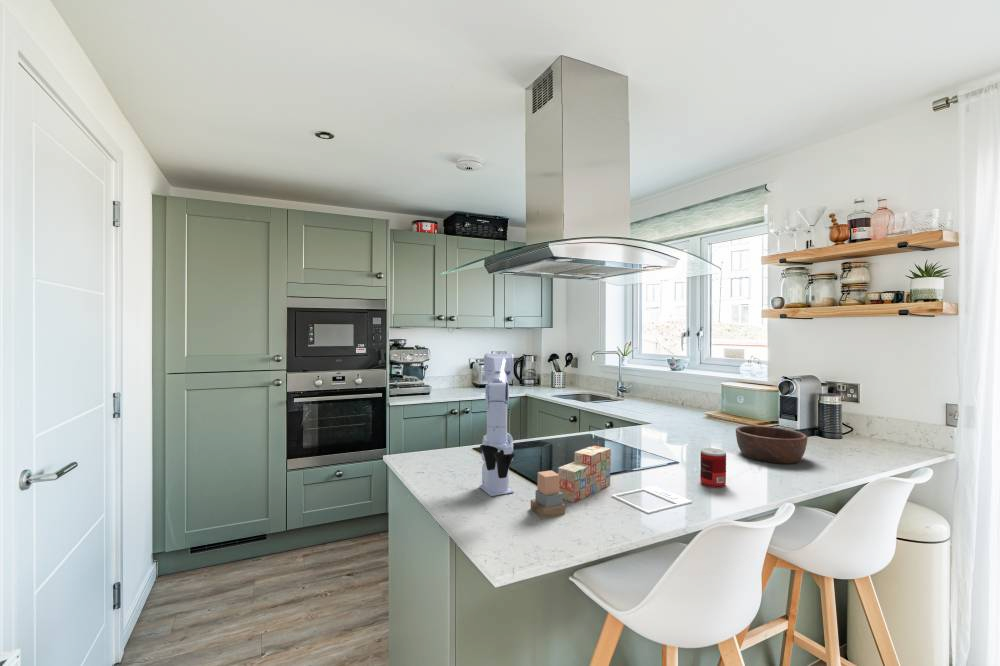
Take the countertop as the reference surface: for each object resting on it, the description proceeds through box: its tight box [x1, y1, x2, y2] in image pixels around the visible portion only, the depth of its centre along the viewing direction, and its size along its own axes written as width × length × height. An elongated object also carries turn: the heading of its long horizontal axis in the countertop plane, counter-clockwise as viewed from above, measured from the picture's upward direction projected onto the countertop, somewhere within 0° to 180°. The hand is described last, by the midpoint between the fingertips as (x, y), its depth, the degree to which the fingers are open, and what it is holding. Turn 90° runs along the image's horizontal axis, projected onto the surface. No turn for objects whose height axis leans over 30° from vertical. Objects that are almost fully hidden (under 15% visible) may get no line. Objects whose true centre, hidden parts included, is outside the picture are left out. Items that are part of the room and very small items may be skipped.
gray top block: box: [534, 490, 564, 508], centre depth 128 cm, size 6×6×3 cm
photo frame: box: [611, 485, 693, 515], centre depth 138 cm, size 15×1×18 cm
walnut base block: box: [530, 498, 566, 519], centre depth 129 cm, size 7×7×3 cm
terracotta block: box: [536, 469, 559, 495], centre depth 129 cm, size 4×4×5 cm
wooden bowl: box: [735, 425, 808, 464], centre depth 186 cm, size 25×25×10 cm
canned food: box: [700, 447, 727, 489], centre depth 153 cm, size 8×8×11 cm
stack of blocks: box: [557, 445, 612, 503], centre depth 145 cm, size 21×6×12 cm, turn 137°
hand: (496, 473), depth 129 cm, fingers open, 7 cm apart
